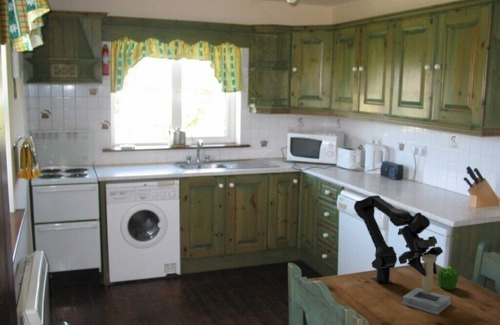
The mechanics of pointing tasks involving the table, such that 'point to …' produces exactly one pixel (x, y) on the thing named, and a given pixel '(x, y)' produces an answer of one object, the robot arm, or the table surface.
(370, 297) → the table surface
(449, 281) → the bell pepper
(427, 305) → the block
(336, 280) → the table surface
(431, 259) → the handle
